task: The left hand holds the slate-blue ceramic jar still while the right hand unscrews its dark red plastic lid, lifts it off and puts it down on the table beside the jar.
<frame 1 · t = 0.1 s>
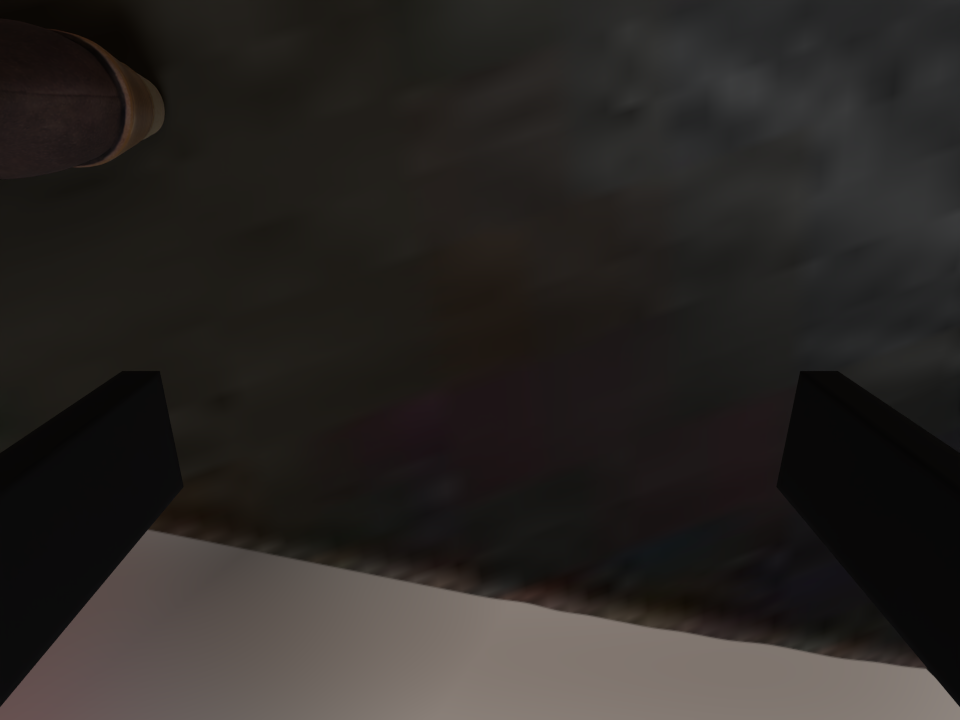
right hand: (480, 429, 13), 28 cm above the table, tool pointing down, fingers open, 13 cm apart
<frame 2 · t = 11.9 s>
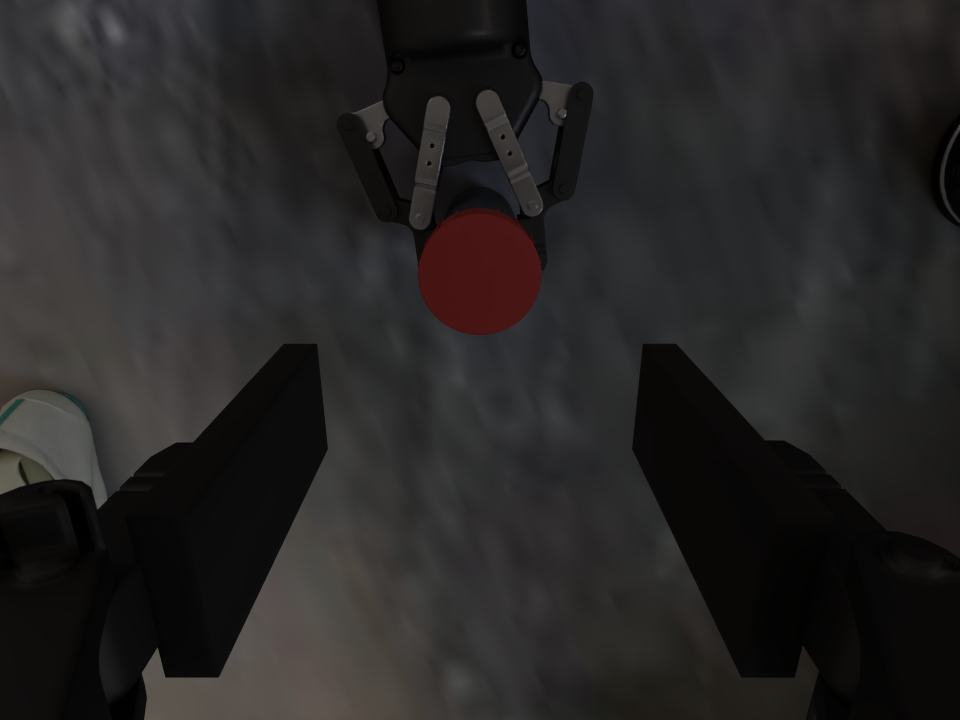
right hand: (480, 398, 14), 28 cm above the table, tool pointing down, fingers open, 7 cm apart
left hand: (484, 283, 36), fingers closed on jar, 4 cm apart
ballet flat: (97, 517, 49), on the table
jar: (479, 223, 40), on the table, touching left hand
lid: (479, 274, 26), point 15 cm above the table, screwed on, not yet turned
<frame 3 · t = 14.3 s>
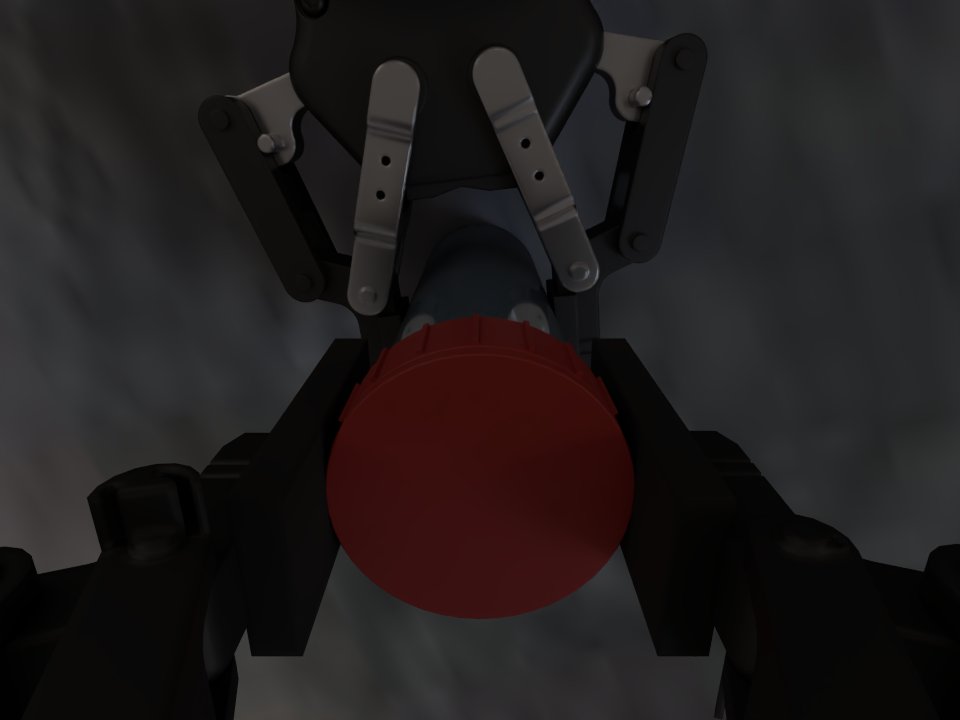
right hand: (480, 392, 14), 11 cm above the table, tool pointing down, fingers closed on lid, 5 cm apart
left hand: (488, 400, 20), fingers closed on jar, 4 cm apart
jar: (479, 280, 25), on the table, touching left hand
lid: (480, 487, 11), point 15 cm above the table, screwed on, not yet turned, touching right hand
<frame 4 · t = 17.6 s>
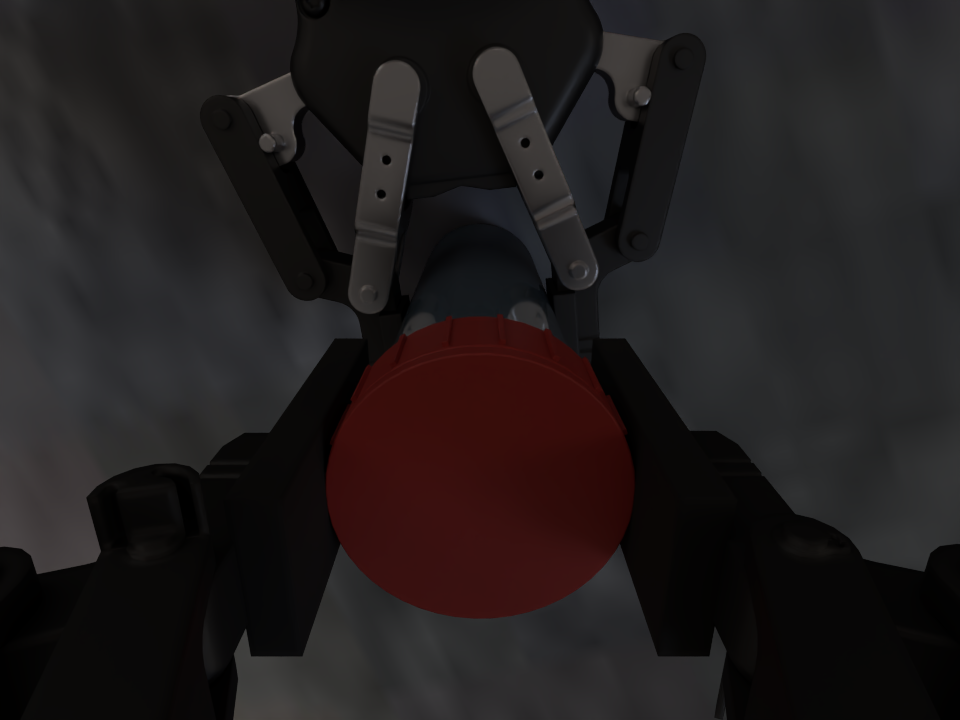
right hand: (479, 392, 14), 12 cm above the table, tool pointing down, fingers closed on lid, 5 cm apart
left hand: (488, 398, 20), fingers closed on jar, 4 cm apart
jar: (480, 279, 25), on the table, touching left hand
lid: (480, 487, 11), point 16 cm above the table, turned 111° so far, risen 0.1 cm, still on its thread, touching right hand
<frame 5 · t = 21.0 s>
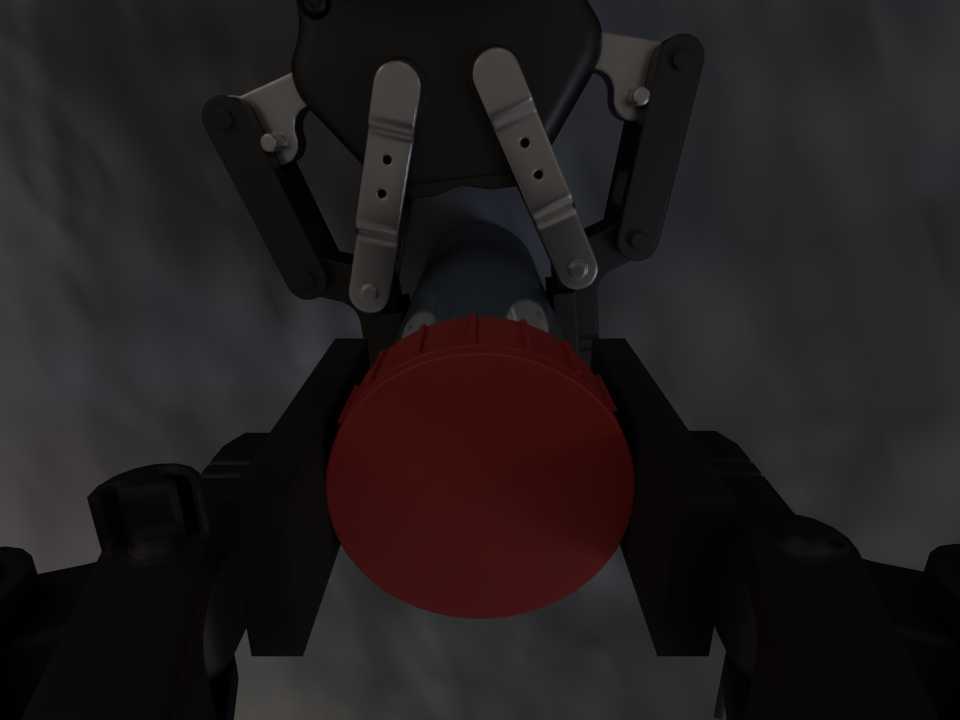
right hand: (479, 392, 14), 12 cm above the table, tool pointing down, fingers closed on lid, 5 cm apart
left hand: (488, 396, 20), fingers closed on jar, 4 cm apart
jar: (480, 279, 25), on the table, touching left hand
lid: (480, 487, 11), point 16 cm above the table, turned 221° so far, risen 0.2 cm, still on its thread, touching right hand
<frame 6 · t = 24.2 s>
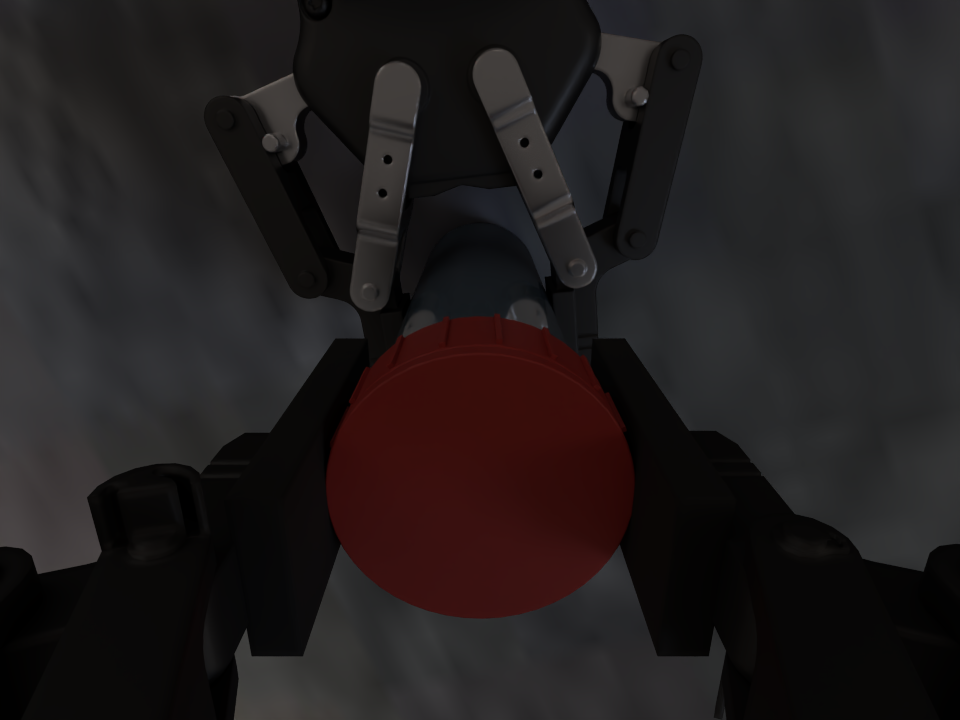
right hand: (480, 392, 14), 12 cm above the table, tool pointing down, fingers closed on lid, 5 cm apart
left hand: (488, 395, 21), fingers closed on jar, 4 cm apart
jar: (480, 278, 25), on the table, touching left hand
lid: (480, 487, 11), point 16 cm above the table, turned 332° so far, risen 0.4 cm, still on its thread, touching right hand
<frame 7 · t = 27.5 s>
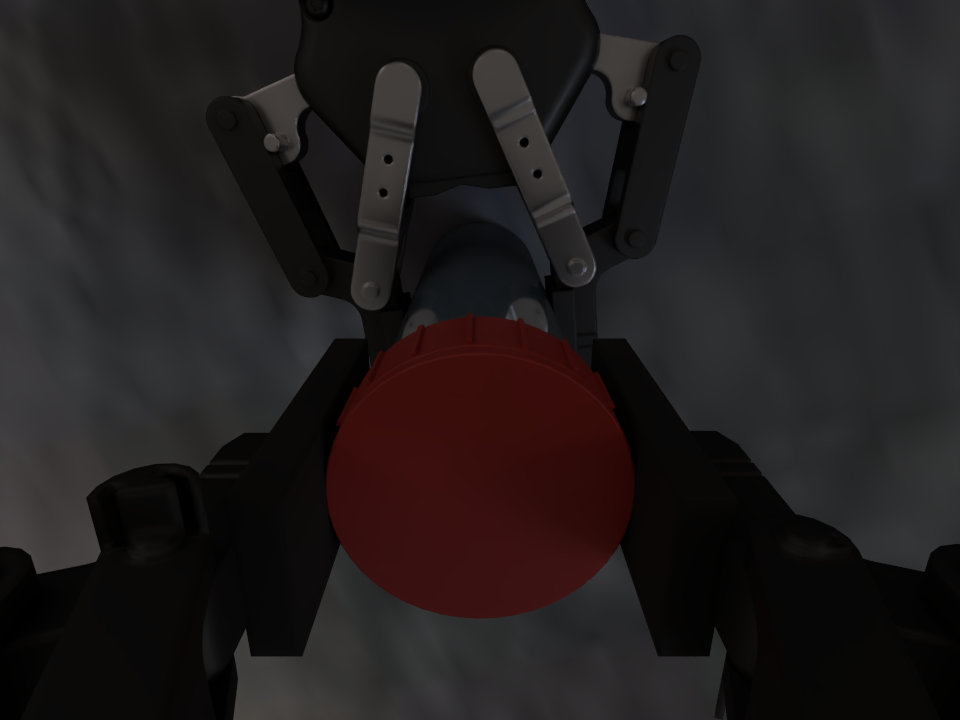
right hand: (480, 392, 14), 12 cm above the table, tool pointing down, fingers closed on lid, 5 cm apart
left hand: (488, 393, 21), fingers closed on jar, 4 cm apart
jar: (480, 277, 25), on the table, touching left hand
lid: (480, 487, 11), point 16 cm above the table, turned 442° so far, risen 0.5 cm, still on its thread, touching right hand
when the right hand's fingers open (0 cm above the table, at t = 35.0 s): lid drops 3 cm, point 2 cm above the table.
when the left hand's fingers open (6 cm above the table, at t = 35.6 s): jar stays where it is, on the table.
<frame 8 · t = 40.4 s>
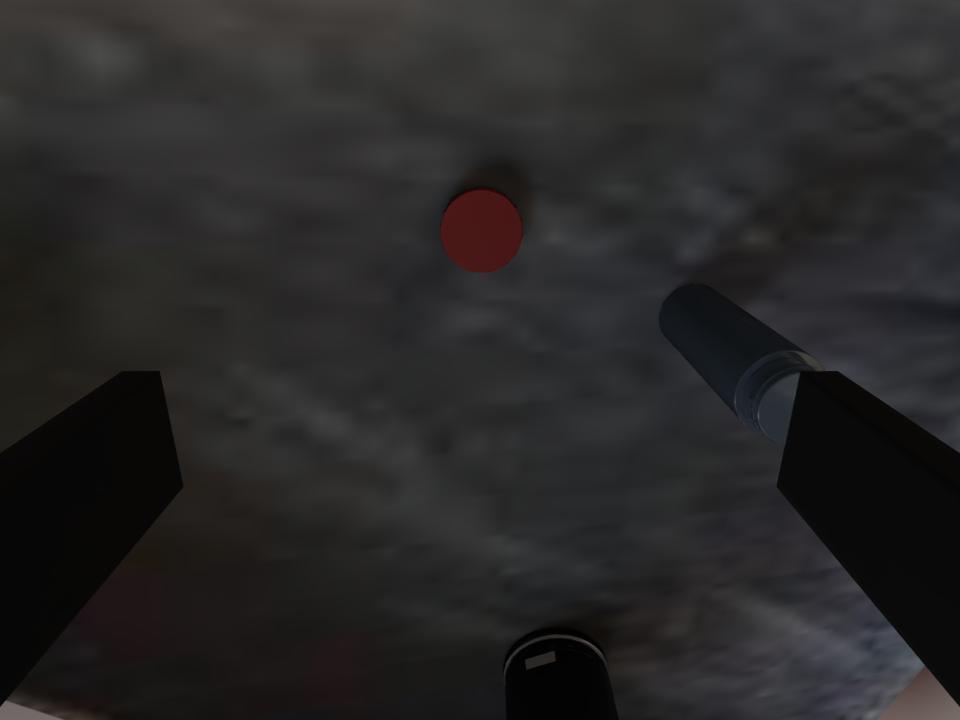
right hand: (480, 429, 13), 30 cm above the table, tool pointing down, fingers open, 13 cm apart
jar: (691, 315, 43), on the table
lid: (481, 231, 39), point 2 cm above the table, off its thread
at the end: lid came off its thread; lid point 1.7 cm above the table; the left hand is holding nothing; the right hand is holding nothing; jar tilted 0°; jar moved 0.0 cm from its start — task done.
